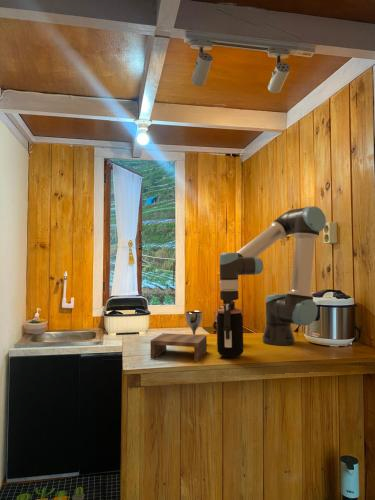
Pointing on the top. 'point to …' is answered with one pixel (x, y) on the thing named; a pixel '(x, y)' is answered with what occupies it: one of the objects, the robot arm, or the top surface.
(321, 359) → the top surface
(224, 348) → the coffee jar
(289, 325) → the robot arm
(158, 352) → the walnut shelf
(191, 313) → the wine glass
